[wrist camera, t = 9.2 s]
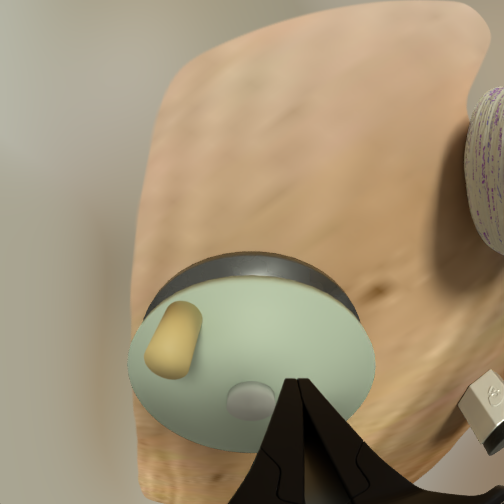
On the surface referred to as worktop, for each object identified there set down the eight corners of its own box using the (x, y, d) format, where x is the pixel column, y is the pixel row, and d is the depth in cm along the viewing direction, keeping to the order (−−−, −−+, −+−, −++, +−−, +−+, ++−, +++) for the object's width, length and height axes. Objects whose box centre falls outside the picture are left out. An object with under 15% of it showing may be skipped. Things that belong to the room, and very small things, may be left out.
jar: (499, 359, 26) (537, 406, 15) (494, 385, 29) (525, 428, 17) (457, 392, 28) (491, 448, 17) (456, 414, 30) (483, 463, 19)
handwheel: (396, 273, 17) (438, 316, 12) (341, 437, 24) (352, 478, 18) (108, 271, 17) (64, 313, 12) (159, 435, 24) (148, 476, 18)
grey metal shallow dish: (331, 416, 27) (336, 439, 24) (160, 408, 27) (153, 431, 24) (382, 259, 21) (402, 276, 17) (132, 243, 20) (112, 259, 17)
